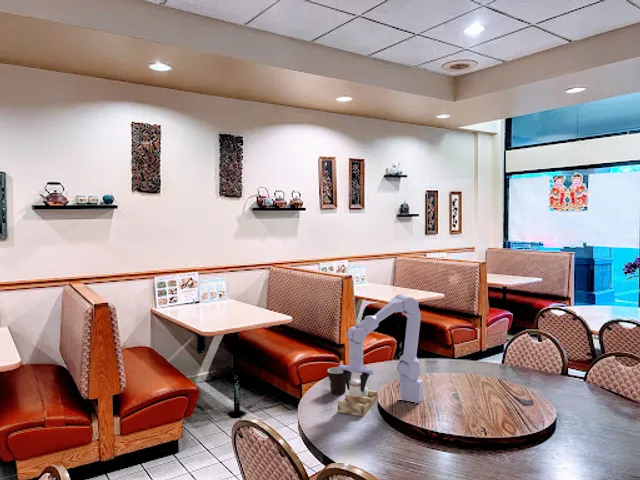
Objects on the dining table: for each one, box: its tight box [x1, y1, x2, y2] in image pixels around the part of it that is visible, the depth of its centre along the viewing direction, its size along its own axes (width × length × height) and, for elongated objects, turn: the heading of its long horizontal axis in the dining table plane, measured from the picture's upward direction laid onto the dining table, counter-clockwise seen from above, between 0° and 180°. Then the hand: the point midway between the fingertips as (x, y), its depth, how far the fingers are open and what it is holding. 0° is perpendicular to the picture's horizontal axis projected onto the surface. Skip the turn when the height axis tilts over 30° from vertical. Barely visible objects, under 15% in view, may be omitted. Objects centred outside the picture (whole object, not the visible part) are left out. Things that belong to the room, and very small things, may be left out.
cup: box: [348, 378, 362, 397], centre depth 199 cm, size 5×5×6 cm
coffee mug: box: [327, 366, 347, 396], centre depth 222 cm, size 12×9×10 cm
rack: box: [337, 386, 379, 417], centre depth 204 cm, size 11×17×6 cm, turn 154°
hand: (355, 390), depth 199 cm, fingers closed on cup, 5 cm apart
